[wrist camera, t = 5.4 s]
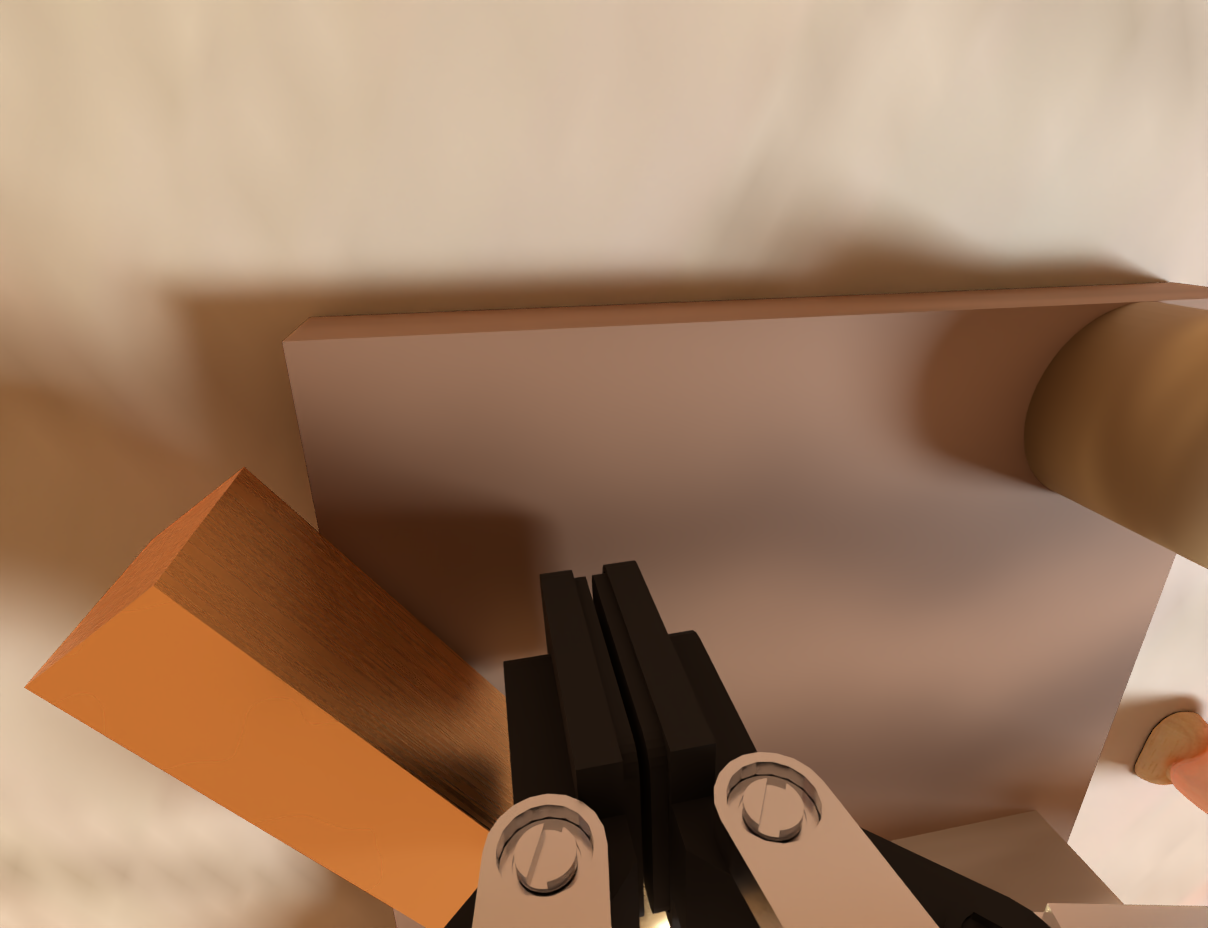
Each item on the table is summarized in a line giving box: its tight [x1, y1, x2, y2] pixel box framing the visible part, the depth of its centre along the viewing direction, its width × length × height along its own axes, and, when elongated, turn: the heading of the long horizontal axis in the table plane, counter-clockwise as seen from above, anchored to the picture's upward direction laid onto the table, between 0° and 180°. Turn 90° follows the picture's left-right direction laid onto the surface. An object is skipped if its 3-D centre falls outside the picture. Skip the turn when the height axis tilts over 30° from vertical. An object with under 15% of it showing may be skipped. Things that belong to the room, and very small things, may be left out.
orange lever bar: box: [24, 467, 670, 928], centre depth 11 cm, size 12×4×4 cm, turn 36°
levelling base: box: [282, 282, 1208, 928], centre depth 12 cm, size 20×18×10 cm
